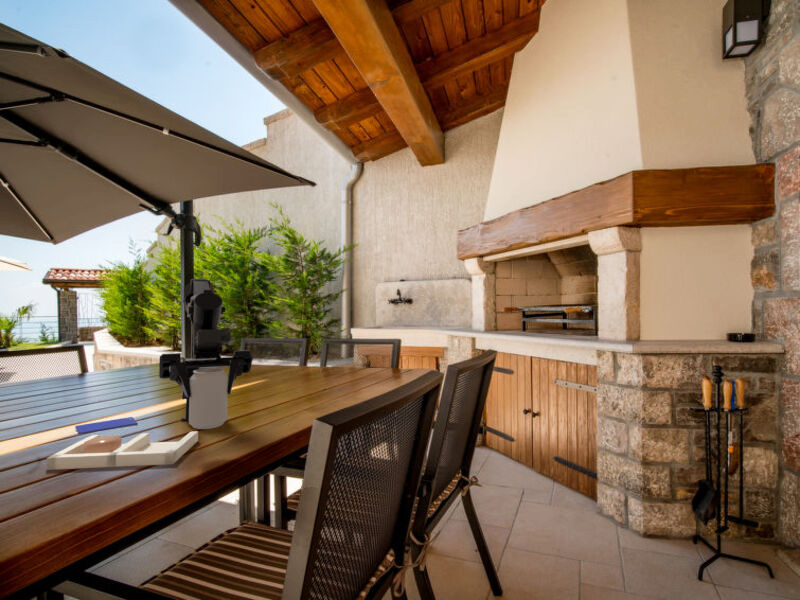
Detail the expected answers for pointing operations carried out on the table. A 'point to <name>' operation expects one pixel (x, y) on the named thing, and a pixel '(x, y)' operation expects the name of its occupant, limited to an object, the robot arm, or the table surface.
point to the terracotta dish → (102, 444)
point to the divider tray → (123, 453)
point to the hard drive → (106, 425)
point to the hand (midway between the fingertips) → (209, 395)
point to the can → (208, 398)
